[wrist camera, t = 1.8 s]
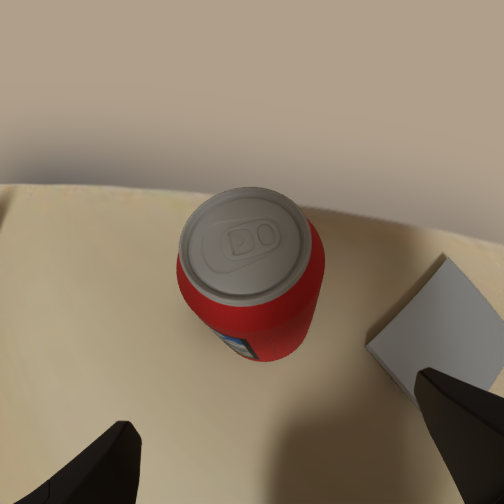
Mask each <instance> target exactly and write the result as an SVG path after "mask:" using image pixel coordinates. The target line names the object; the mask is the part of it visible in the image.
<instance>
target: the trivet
mask: <svg viewBox="0 0 504 504" xmlns="http://www.w3.org/2000/svg"><path fill="white" fill-rule="evenodd" d="M365 347H366V348H367V350H368V351H369V352H370V353H371V354H372V355H373V357H374V358H375V359H376V360H377V361H378V362H379V363H380V365H381V366H382V367H383V368H384V369H385V370H386V372H387V373H388V374H389V375H390V376H391V377H392V379H393V380H394V381H395V382H396V383H397V384H398V386H399V387H400V388H401V389H402V390H403V391H404V393H405V394H406V395H407V396H408V397H409V398H410V400H411V401H412V402H413V403H414V404H415V406H416V407H417V408H418V409H419V410H420V408H419V405H418V403H417V400H416V398H415V395H414V385H415V380H416V375H417V372H418V371H419V370H422V369H424V368H427V367H431V368H434V369H436V370H438V371H440V372H443V373H445V374H447V375H450V376H452V377H454V378H457V379H459V380H461V381H464V382H466V383H469V384H471V385H473V386H476V387H478V388H481V389H483V390H485V391H488V390H489V389H490V387H491V386H492V384H493V383H494V381H495V380H496V378H497V376H498V375H499V373H500V372H501V370H502V368H503V367H504V322H503V320H502V319H501V318H500V316H499V315H498V314H497V312H496V311H495V310H494V309H493V307H492V306H491V305H490V304H489V302H488V301H487V300H486V299H485V298H484V296H483V295H482V294H481V293H480V292H479V290H478V289H477V288H476V287H475V286H474V285H473V283H472V282H471V281H470V280H469V279H468V278H467V277H466V276H465V274H464V273H463V272H462V271H461V270H460V269H459V268H458V267H457V266H456V265H455V264H454V262H453V261H452V260H451V259H450V258H449V257H448V258H447V259H446V260H445V262H444V263H443V264H442V265H441V266H440V268H439V269H438V270H437V271H436V272H435V274H434V275H433V276H432V277H431V278H430V279H429V281H428V282H427V283H426V284H425V285H424V286H423V288H422V289H421V290H420V291H419V292H418V293H417V294H416V295H415V297H414V298H413V299H412V300H411V301H410V302H409V303H408V304H407V305H406V306H405V307H404V308H403V309H402V310H401V312H400V313H399V314H398V315H397V316H396V317H395V318H394V319H393V320H392V321H391V322H390V323H389V324H388V325H387V326H386V327H385V328H384V329H383V330H382V331H381V332H380V333H379V334H378V335H377V336H376V337H375V338H373V339H372V340H371V341H370V342H369V343H368V344H367V345H366V346H365ZM420 411H421V410H420Z"/></svg>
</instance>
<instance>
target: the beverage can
mask: <svg viewBox="0 0 504 504" xmlns="http://www.w3.org/2000/svg"><path fill="white" fill-rule="evenodd" d="M324 269H325V254H324V249H323V245H322V242H321V239H320V237H319V235H318V233H317V231H316V229H315V228H314V226H313V225H312V224H311V222H310V221H309V220H308V219H307V218H306V217H305V215H304V213H303V212H302V211H301V209H300V208H299V207H298V206H297V205H296V204H295V203H294V202H293V201H291V200H290V199H289V198H287V197H286V196H284V195H282V194H280V193H278V192H275V191H272V190H269V189H265V188H258V187H243V188H236V189H231V190H228V191H224V192H222V193H219V194H217V195H215V196H213V197H212V198H210V199H208V200H207V201H205V202H204V203H203V204H202V205H200V206H199V207H198V208H197V209H196V210H195V211H194V212H193V214H192V215H191V216H190V217H189V219H188V220H187V222H186V224H185V226H184V228H183V231H182V233H181V236H180V242H179V253H178V257H177V280H178V285H179V288H180V291H181V293H182V295H183V297H184V299H185V301H186V302H187V304H188V305H189V307H190V308H191V309H192V310H193V311H194V312H195V313H196V314H197V315H198V317H199V318H200V319H201V320H202V321H203V322H204V323H205V324H206V325H207V326H208V327H209V328H210V329H211V330H212V331H213V332H214V333H215V334H216V335H217V336H218V337H219V338H220V339H221V340H223V341H224V342H225V343H226V344H227V345H228V346H229V347H230V348H232V349H233V350H234V351H235V352H236V353H238V354H239V355H241V356H243V357H245V358H247V359H250V360H253V361H259V362H269V361H275V360H278V359H281V358H284V357H286V356H288V355H289V354H291V353H292V352H293V351H295V350H296V349H297V348H298V347H299V346H300V344H301V343H302V342H303V340H304V339H305V337H306V335H307V332H308V329H309V327H310V324H311V321H312V317H313V314H314V311H315V307H316V303H317V300H318V296H319V292H320V288H321V284H322V279H323V275H324Z"/></svg>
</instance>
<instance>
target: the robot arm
mask: <svg viewBox="0 0 504 504" xmlns="http://www.w3.org/2000/svg"><path fill="white" fill-rule="evenodd" d="M414 395H415V398H416V400H417V403H418V405H419V408H420V410H421V413H422V415H423V418H424V420H425V423H426V425H427V428H428V430H429V433H430V435H431V437H432V439H433V440H434V442H435V444H436V446H437V448H438V450H439V452H440V454H441V456H442V458H443V460H444V462H445V463H446V465H447V467H448V469H449V471H450V473H451V476H452V478H453V480H454V482H455V484H456V486H457V488H458V490H459V492H460V494H461V496H462V499H463V501H464V503H465V504H504V398H503V397H500V396H498V395H495V394H493V393H490V392H488V391H485V390H483V389H481V388H478V387H476V386H473V385H471V384H469V383H466V382H464V381H461V380H459V379H457V378H454V377H452V376H450V375H447V374H445V373H443V372H440V371H438V370H436V369H434V368H431V367H427V368H424V369H422V370H419V371H418V372H417V375H416V380H415V385H414ZM141 446H142V440H141V437H140V435H139V433H138V432H137V431H136V429H135V428H134V426H133V425H132V423H131V422H130V421H117V422H116V423H115V424H113V425H112V426H111V427H110V428H109V429H108V430H107V431H105V432H104V433H103V434H102V435H101V436H100V437H98V438H97V439H96V440H95V441H94V442H93V443H91V444H90V445H89V446H88V447H87V448H86V449H84V450H83V451H82V452H81V453H80V454H79V455H77V456H76V457H75V458H74V459H73V460H71V461H70V462H69V463H68V464H67V465H65V466H64V467H63V468H62V469H61V470H59V471H58V472H57V473H56V474H54V475H53V476H52V477H51V478H50V479H48V480H47V481H46V482H44V483H43V484H42V485H41V486H39V487H38V488H37V489H35V490H34V491H33V492H31V493H30V494H28V495H27V496H25V497H24V498H22V499H20V500H19V501H17V502H15V503H14V504H136V497H137V491H138V485H139V477H140V461H141Z"/></svg>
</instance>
